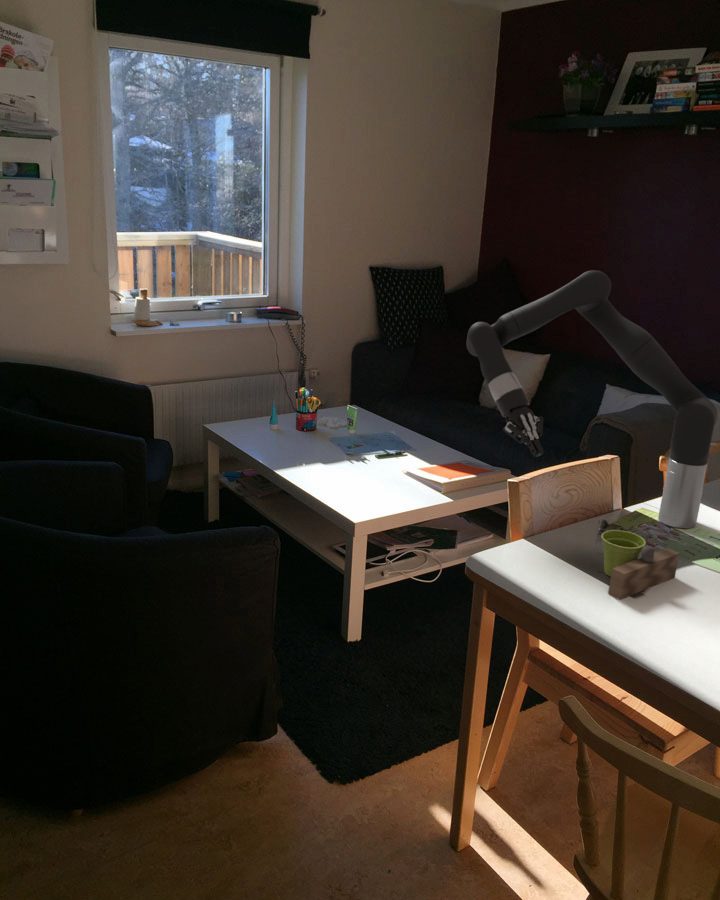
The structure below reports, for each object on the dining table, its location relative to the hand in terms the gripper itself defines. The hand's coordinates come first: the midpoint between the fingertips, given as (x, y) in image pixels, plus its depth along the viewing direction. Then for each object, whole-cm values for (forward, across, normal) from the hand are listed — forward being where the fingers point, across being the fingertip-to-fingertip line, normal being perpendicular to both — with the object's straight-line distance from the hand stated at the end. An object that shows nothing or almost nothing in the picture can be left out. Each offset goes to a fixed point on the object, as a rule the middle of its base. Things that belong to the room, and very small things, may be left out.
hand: (539, 455), depth 198 cm
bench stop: (+38, +4, +13) cm, 40 cm away
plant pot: (+34, +4, +8) cm, 35 cm away
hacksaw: (+27, -11, -1) cm, 29 cm away
